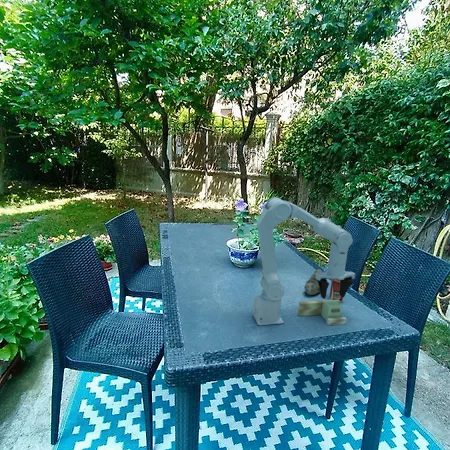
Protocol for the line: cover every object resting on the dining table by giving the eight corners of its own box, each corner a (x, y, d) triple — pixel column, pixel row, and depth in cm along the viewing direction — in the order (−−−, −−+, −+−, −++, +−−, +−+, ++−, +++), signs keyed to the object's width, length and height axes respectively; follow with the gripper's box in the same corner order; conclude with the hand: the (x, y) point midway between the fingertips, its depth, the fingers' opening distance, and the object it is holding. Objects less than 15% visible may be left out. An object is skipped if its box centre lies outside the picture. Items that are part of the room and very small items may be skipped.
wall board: (308, 327, 103) (310, 314, 101) (298, 314, 111) (299, 302, 110) (349, 323, 106) (351, 311, 105) (336, 311, 114) (337, 299, 113)
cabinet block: (328, 322, 106) (330, 307, 104) (321, 315, 111) (322, 300, 109) (341, 321, 107) (343, 307, 105) (333, 314, 112) (335, 299, 110)
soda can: (331, 295, 127) (335, 269, 124) (344, 299, 124) (347, 273, 121) (327, 300, 123) (330, 273, 120) (339, 304, 120) (343, 276, 117)
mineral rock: (307, 298, 124) (310, 276, 121) (292, 287, 133) (294, 267, 131) (331, 294, 129) (334, 272, 126) (315, 284, 138) (317, 264, 136)
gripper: (324, 266, 99) (319, 303, 102) (362, 265, 102) (356, 300, 105) (314, 259, 106) (310, 293, 109) (350, 258, 109) (345, 291, 112)
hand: (332, 296), depth 107 cm, fingers open, 7 cm apart
